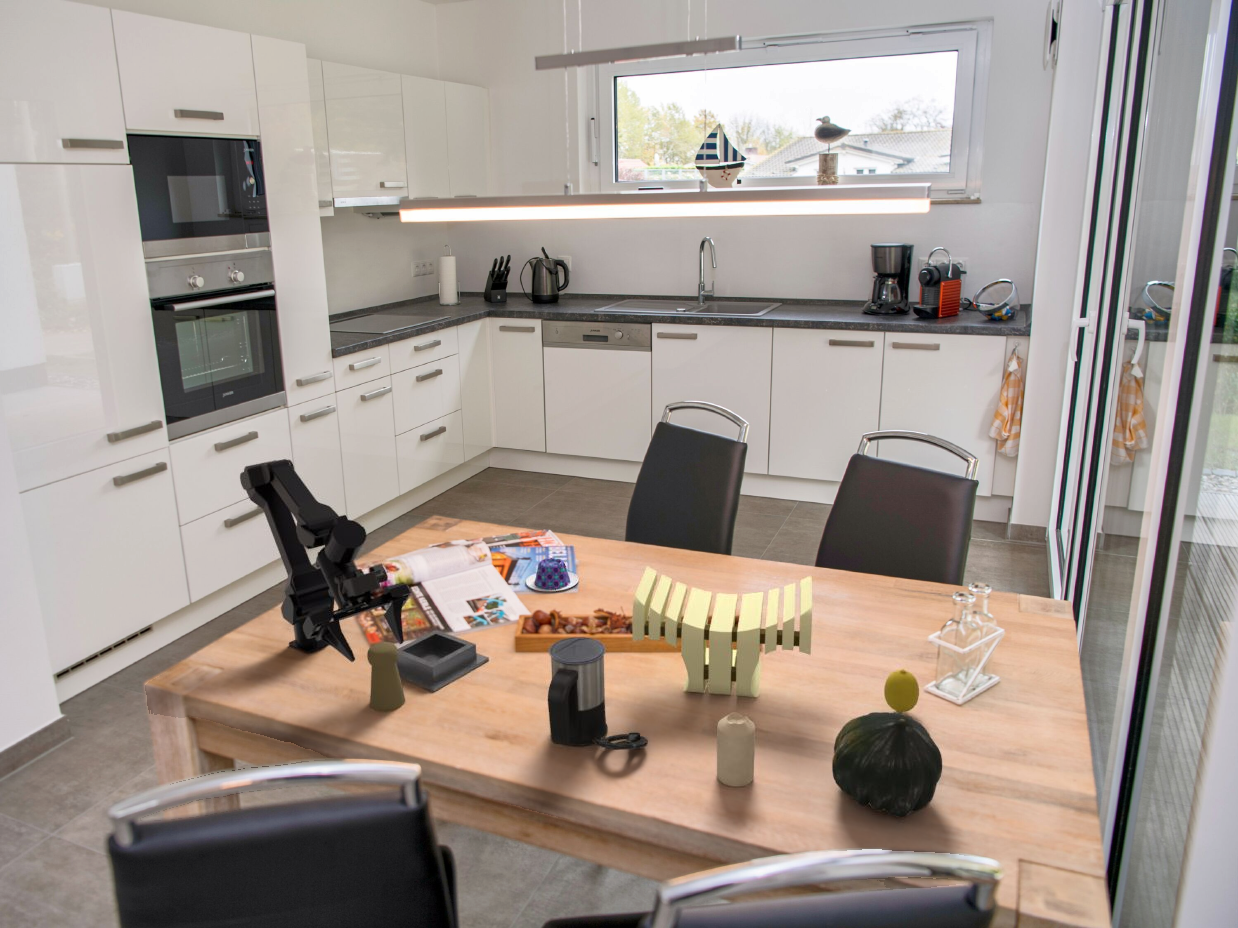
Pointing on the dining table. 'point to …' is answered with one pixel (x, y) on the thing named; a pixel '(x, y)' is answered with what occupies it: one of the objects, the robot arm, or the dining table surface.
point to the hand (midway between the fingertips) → (378, 651)
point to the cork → (385, 678)
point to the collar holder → (437, 660)
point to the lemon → (901, 691)
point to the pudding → (551, 576)
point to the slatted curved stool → (721, 631)
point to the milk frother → (581, 697)
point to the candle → (735, 750)
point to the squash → (887, 762)
